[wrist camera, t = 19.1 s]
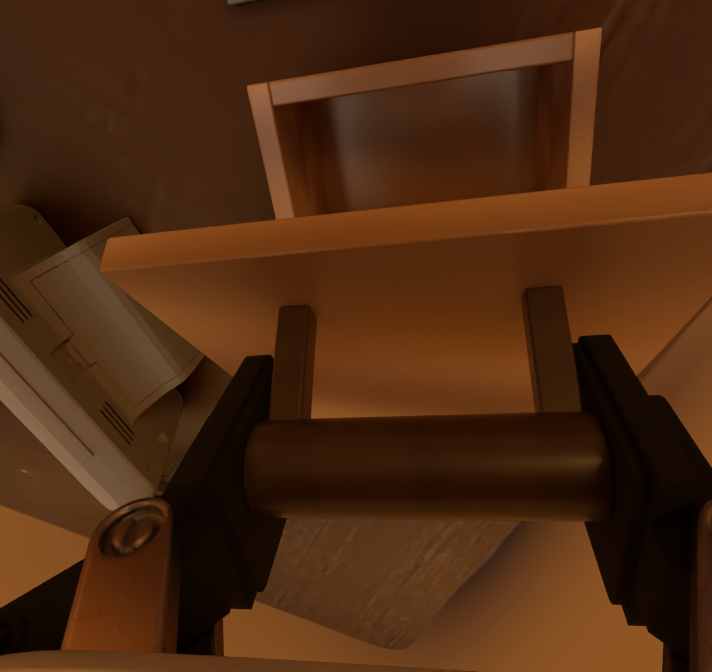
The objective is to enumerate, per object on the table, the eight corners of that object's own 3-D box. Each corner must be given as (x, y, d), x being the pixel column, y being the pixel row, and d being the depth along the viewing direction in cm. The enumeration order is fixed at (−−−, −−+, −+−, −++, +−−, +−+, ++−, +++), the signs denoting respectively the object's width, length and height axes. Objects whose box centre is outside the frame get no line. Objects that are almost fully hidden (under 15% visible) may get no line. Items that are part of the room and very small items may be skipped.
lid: (106, 236, 10) (31, 504, 8) (783, 162, 7) (933, 511, 5) (321, 431, 24) (315, 541, 22) (571, 425, 22) (590, 546, 20)
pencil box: (293, 78, 23) (245, 85, 17) (555, 35, 21) (602, 26, 15) (344, 360, 30) (322, 433, 25) (542, 351, 28) (570, 427, 22)
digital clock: (-3, 194, 28) (-215, 260, 19) (130, 152, 26) (-36, 204, 17) (131, 417, 35) (25, 544, 26) (244, 399, 33) (172, 531, 24)
